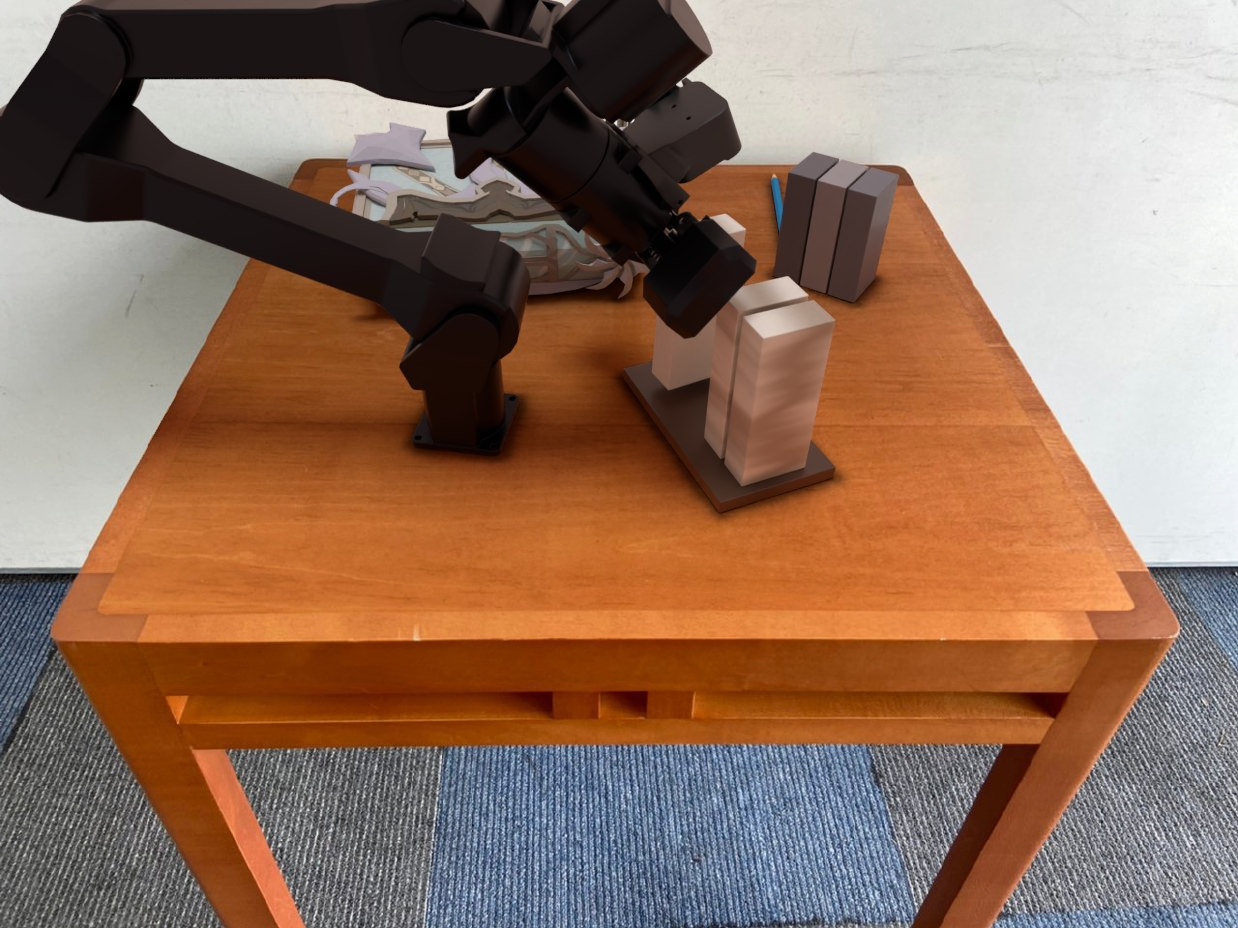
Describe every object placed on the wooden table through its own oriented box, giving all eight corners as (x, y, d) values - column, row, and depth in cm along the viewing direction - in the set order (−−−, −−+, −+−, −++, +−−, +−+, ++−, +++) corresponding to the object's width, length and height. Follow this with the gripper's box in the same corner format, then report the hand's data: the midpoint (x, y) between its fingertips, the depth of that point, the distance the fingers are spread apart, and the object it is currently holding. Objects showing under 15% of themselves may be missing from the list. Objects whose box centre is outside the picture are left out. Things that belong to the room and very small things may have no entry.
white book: (668, 391, 67) (683, 245, 58) (650, 372, 68) (663, 227, 60) (724, 373, 69) (747, 229, 60) (706, 355, 70) (725, 212, 62)
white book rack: (718, 513, 60) (739, 353, 51) (622, 378, 71) (625, 226, 62) (833, 477, 63) (871, 319, 54) (724, 353, 74) (741, 204, 65)
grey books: (853, 303, 79) (877, 196, 73) (772, 276, 82) (788, 171, 76) (875, 279, 82) (899, 174, 76) (796, 253, 86) (813, 151, 79)
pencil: (782, 256, 85) (783, 249, 84) (769, 176, 97) (770, 170, 97) (790, 256, 85) (791, 249, 84) (776, 176, 97) (777, 170, 97)
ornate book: (345, 333, 76) (694, 300, 79) (317, 230, 70) (698, 197, 72) (363, 210, 93) (651, 185, 95) (341, 116, 86) (652, 93, 89)
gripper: (745, 107, 45) (881, 263, 56) (602, 1, 58) (735, 145, 68) (598, 276, 48) (754, 393, 59) (492, 140, 60) (636, 257, 71)
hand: (719, 286), depth 64 cm, fingers closed on white book, 3 cm apart
